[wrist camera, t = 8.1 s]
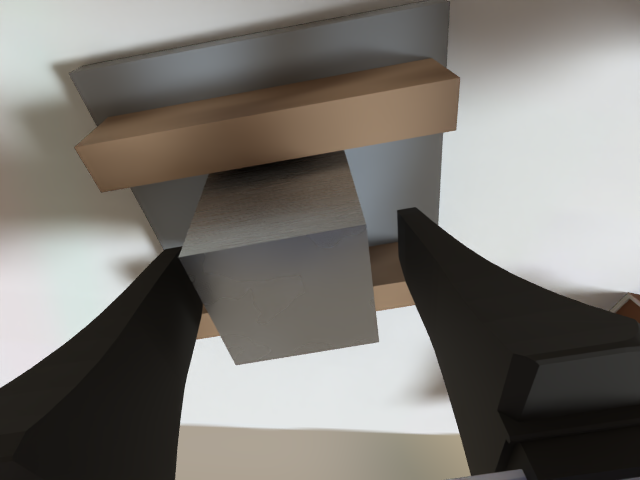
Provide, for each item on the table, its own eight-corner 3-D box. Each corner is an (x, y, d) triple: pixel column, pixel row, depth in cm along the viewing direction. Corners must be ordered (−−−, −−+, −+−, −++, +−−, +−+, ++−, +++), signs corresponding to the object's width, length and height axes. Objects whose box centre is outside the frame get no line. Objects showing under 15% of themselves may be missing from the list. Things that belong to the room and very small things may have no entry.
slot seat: (439, -2, 12) (485, 10, 9) (428, 269, 19) (452, 321, 16) (82, 65, 12) (23, 96, 10) (205, 305, 20) (191, 361, 17)
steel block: (337, 128, 13) (365, 224, 9) (351, 228, 16) (379, 342, 11) (216, 151, 13) (178, 257, 9) (251, 245, 16) (236, 365, 11)
